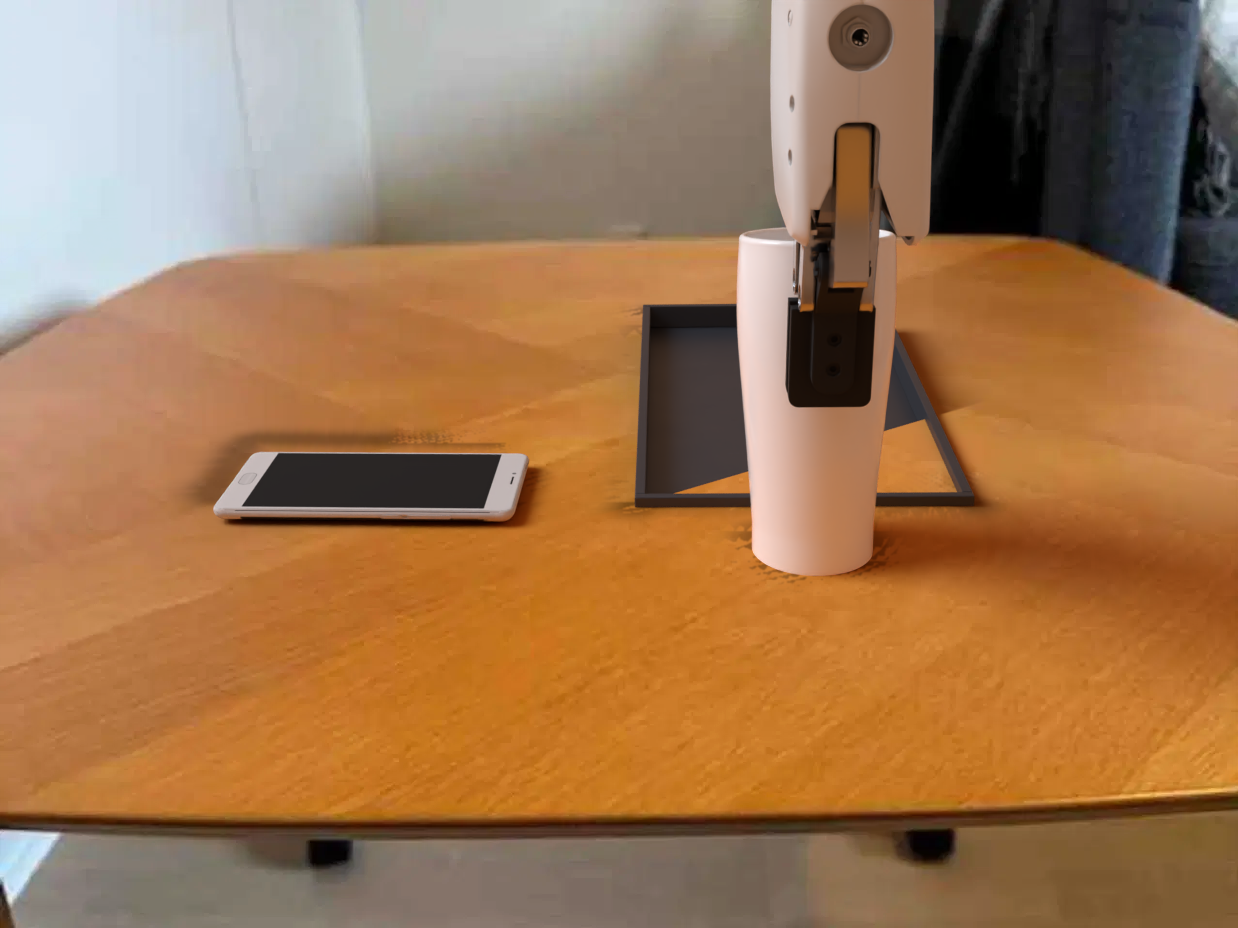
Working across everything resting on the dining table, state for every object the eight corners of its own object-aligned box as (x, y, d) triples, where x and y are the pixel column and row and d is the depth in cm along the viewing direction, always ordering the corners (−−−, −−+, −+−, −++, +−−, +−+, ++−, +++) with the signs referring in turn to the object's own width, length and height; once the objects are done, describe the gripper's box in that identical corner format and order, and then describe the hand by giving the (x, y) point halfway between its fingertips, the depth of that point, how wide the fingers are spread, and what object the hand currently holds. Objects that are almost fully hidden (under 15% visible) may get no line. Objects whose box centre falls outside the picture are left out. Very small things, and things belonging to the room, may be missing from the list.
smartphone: (252, 450, 79) (530, 451, 78) (254, 461, 79) (530, 463, 78) (209, 509, 72) (513, 512, 71) (210, 521, 72) (513, 524, 71)
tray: (971, 534, 70) (974, 495, 69) (635, 535, 70) (634, 497, 69) (882, 330, 98) (883, 302, 97) (643, 332, 99) (642, 304, 98)
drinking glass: (740, 545, 69) (741, 226, 66) (885, 549, 68) (895, 225, 65) (730, 594, 63) (731, 242, 59) (891, 598, 62) (902, 242, 58)
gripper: (1005, -87, 44) (958, 475, 51) (921, -106, 57) (893, 339, 65) (753, -83, 44) (742, 476, 51) (729, -103, 58) (723, 341, 65)
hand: (827, 399), depth 58 cm, fingers closed
